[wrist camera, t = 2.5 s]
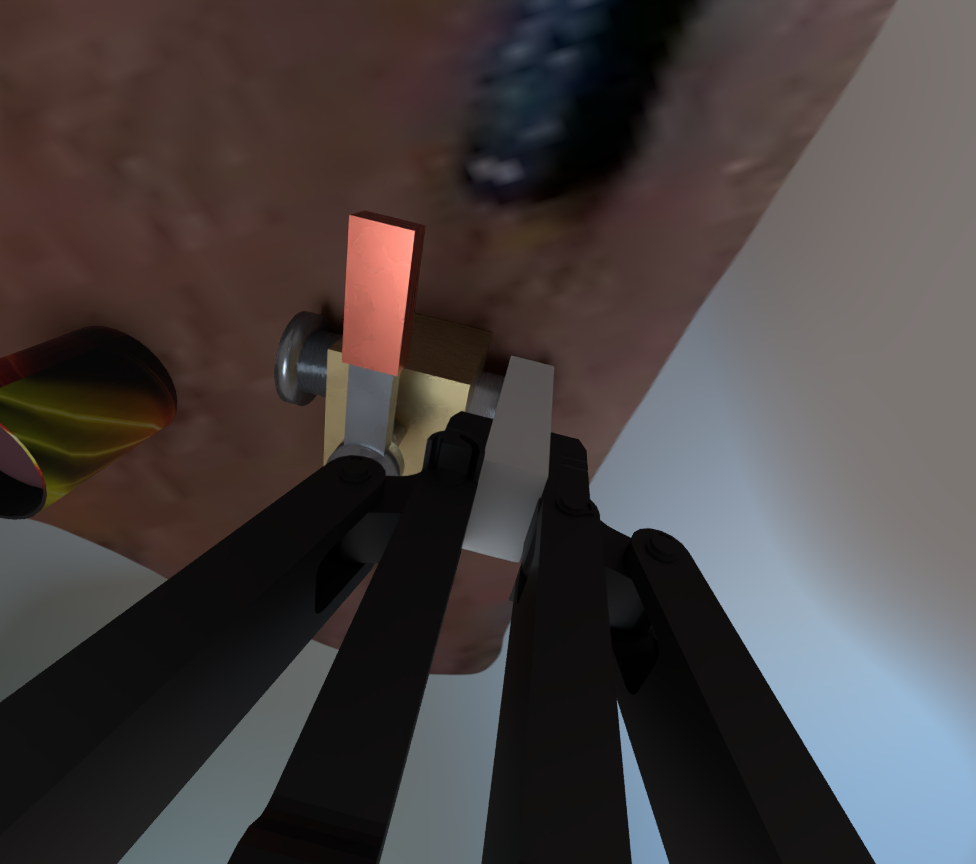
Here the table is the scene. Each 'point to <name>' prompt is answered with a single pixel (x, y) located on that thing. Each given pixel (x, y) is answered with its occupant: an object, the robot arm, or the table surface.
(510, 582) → the table surface
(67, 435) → the mug
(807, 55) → the table surface
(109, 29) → the table surface
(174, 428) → the table surface
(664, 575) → the robot arm
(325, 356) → the valve
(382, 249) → the lever
